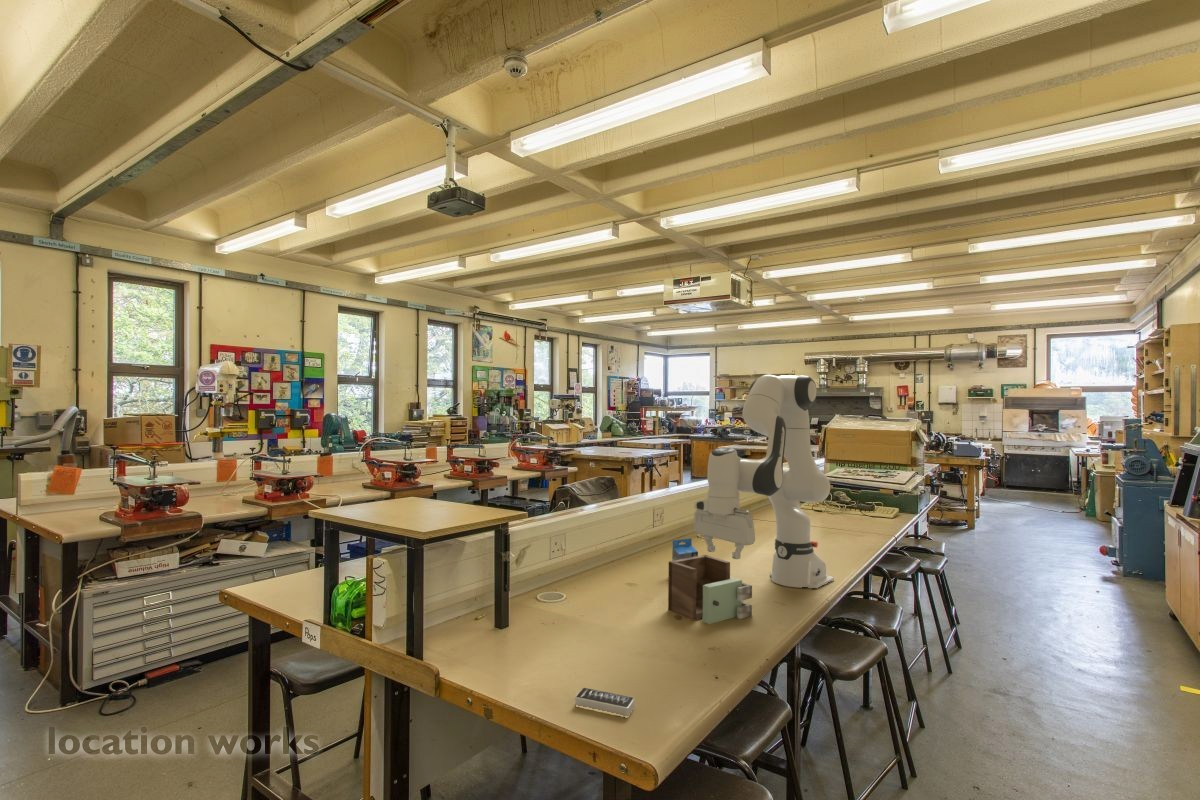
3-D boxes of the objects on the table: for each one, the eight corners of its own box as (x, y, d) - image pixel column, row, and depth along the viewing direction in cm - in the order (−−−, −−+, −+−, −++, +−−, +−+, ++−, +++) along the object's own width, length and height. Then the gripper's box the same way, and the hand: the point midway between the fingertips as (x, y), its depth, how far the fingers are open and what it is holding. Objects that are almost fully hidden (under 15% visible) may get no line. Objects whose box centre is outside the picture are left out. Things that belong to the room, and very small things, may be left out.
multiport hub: (627, 720, 106) (628, 708, 106) (574, 709, 110) (574, 697, 110) (635, 709, 110) (635, 697, 111) (582, 698, 114) (583, 687, 114)
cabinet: (709, 599, 175) (710, 554, 176) (751, 615, 162) (752, 566, 162) (668, 609, 166) (668, 561, 166) (709, 627, 152) (709, 575, 152)
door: (734, 612, 164) (735, 577, 165) (744, 616, 161) (745, 581, 162) (702, 621, 157) (702, 585, 157) (712, 625, 154) (712, 588, 154)
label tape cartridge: (678, 578, 198) (678, 542, 198) (671, 575, 201) (671, 540, 202) (698, 574, 202) (698, 540, 203) (691, 572, 206) (691, 538, 206)
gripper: (760, 510, 154) (760, 561, 153) (705, 500, 170) (705, 546, 170) (744, 512, 150) (744, 565, 150) (690, 502, 167) (690, 549, 167)
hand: (723, 555), depth 160 cm, fingers open, 8 cm apart
